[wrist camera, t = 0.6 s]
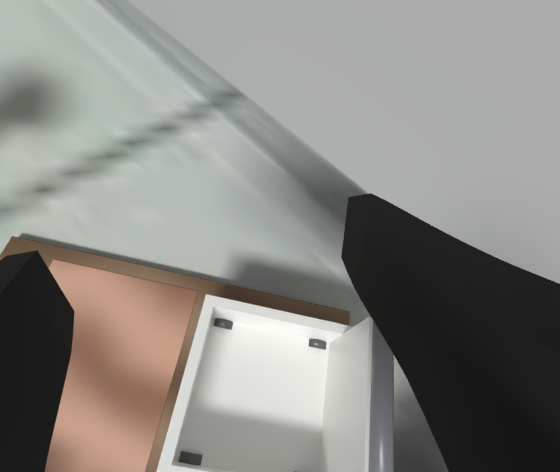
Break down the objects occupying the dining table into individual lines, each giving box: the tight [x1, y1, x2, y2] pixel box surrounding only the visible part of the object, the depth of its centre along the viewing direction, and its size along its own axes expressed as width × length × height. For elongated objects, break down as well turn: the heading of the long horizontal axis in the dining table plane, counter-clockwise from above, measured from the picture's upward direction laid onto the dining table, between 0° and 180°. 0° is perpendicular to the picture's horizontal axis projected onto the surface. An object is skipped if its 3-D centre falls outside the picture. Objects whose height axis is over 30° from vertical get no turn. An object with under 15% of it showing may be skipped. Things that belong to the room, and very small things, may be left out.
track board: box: [0, 236, 349, 472], centre depth 22 cm, size 14×24×1 cm, turn 80°
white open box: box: [156, 294, 394, 472], centre depth 19 cm, size 9×10×8 cm
